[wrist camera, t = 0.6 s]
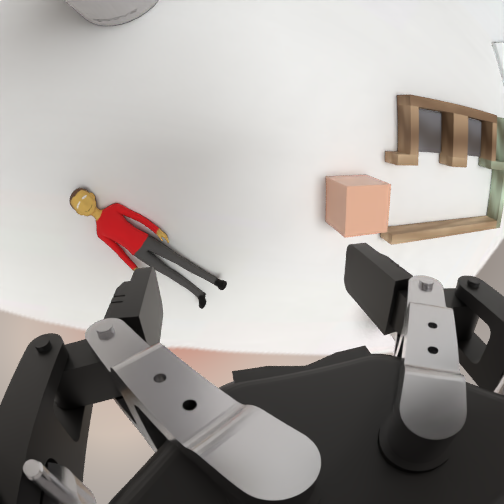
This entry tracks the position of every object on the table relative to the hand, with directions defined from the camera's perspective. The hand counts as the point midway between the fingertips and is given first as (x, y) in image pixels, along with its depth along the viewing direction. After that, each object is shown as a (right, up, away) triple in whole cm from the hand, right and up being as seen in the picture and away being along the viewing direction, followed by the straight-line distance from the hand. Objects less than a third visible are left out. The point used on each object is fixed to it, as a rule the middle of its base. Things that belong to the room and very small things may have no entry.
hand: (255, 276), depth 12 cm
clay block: (+10, +7, +20) cm, 24 cm away
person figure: (-11, +2, +18) cm, 22 cm away
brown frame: (+26, +12, +21) cm, 36 cm away
